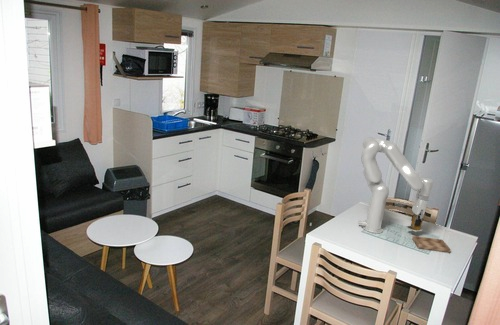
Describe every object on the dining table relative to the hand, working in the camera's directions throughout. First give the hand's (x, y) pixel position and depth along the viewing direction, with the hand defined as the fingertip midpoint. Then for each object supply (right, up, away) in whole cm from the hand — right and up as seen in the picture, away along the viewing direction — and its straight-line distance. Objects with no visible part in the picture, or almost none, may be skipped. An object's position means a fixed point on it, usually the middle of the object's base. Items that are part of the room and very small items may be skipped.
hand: (415, 223), depth 251 cm
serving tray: (+4, -12, -13) cm, 18 cm away
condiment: (-1, -4, +1) cm, 4 cm away
